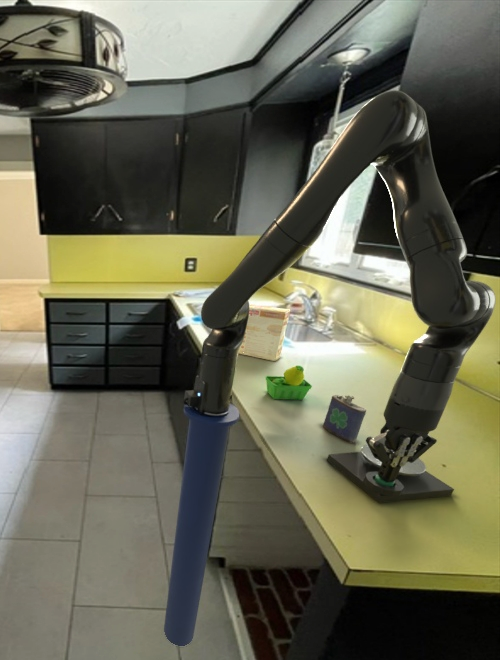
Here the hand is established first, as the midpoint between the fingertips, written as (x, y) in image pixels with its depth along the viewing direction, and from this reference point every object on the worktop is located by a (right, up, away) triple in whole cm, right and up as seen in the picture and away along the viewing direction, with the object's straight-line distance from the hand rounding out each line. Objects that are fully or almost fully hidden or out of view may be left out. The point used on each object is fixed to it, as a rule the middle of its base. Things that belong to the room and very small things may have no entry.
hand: (385, 479), depth 70 cm
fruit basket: (+2, +14, +42) cm, 45 cm away
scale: (+5, -1, +6) cm, 8 cm away
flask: (+5, +6, +22) cm, 23 cm away
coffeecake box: (+10, +30, +78) cm, 84 cm away
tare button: (0, -1, +1) cm, 2 cm away
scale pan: (+7, +2, +7) cm, 10 cm away
